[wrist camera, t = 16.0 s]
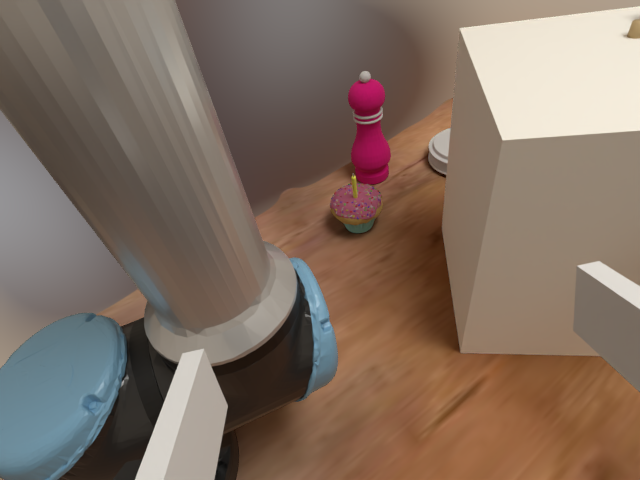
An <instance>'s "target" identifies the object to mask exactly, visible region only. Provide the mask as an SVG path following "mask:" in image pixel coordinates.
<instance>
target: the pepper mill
mask: <svg viewBox="0 0 640 480" xmlns="http://www.w3.org/2000/svg"><path fill="white" fill-rule="evenodd" d="M370 78H371V75H370V73H369V72H367V71H363V72H362V73H361V74H360V80H359V81H357V82H356V83H354V84H353V85H352V87H351V88H350V90H349V95H348V101H349V104H350V106H351V107H352V108H353V109H354V110H353V115H354V116H353V119H354V121H355V122H356V123H357V135H356V139H355V141H354V144H353V147H352V152H351V160H352V163H353V164H354V166H355V173H356V178H357V180H358V181H360V182H361V183H364V184H369V185H371V184H378V183H380V182H382V181H384V180H385V179H386V178H387V177H388V174H389V170H388V162H389V161H390V157H391V154H390V148H389V145H388V143H387V141H386V140H385V138H384V136H383V134H382V131H381V126H380V119H381V118H382V116H383V113H382V110H383V109H382V107H381V106H382V104H383V103H384V100H385V92H384V89H383V86H382V85H381V84H380V83H379V82H378V81H376V80H374V79H370Z"/></svg>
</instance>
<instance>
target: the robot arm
mask: <svg viewBox="0 0 640 480" xmlns="http://www.w3.org/2000/svg"><path fill="white" fill-rule="evenodd" d="M0 110H1V111H2V113H3V114H4V115H5V117H6V118H7V119H8V120H9V122H10V123H11V124H12V126H13V127H14V128H15V129H16V131H17V132H18V133H19V135H20V136H21V137H22V139H23V140H24V141H25V142H26V144H27V145H28V146H29V148H30V149H31V150H32V152H33V153H34V154H35V155H36V157H37V158H38V159H39V161H40V162H41V163H42V165H43V166H44V167H45V168H46V170H47V171H48V172H49V174H50V175H51V176H52V177H53V179H54V180H55V181H56V183H57V184H58V185H59V187H60V188H61V189H62V190H63V192H64V193H65V194H66V196H67V197H68V198H69V200H70V201H71V202H72V203H73V205H74V206H75V207H76V208H77V210H78V211H79V213H80V214H81V215H82V216H83V218H84V219H85V220H86V222H87V223H88V224H89V225H90V227H91V228H92V229H93V231H95V233H96V234H97V236H98V237H99V238H100V240H101V241H102V242H103V244H104V245H105V246H106V247H107V249H108V250H109V251H110V253H111V254H112V255H113V256H114V258H115V259H116V260H117V262H118V263H119V264H120V266H121V267H122V268H123V270H124V271H125V272H126V273H127V275H128V276H129V277H130V279H131V280H132V281H133V282H134V284H135V285H136V286H137V288H138V289H139V290H140V292H141V293H142V294H143V295H144V297H145V298H146V299H147V304H146V308H145V314H144V318H141V319H139V320H136V321H134V322H131V323H129V324H126V325H124V326H121V327H120V326H119V324H118V323H117V322H116V321H115V320H113V319H111V318H108V317H105V316H102V315H100V316H97V315H95V314H94V313H79V314H75V315H71V316H68V317H65V318H63V319H60V320H58V321H55V322H53V323H52V324H50V325H48V326H46V327H45V328H43V329H41V330H40V331H39V332H37V333H36V334H34V335H33V336H32V337H30V338H29V339H28V340H27V341H26V342H25V343H23V344H22V345H21V346H20V347H19V348H18V349H17V350H16V351H15V352H14V353H13V354H12V355H11V356H10V357H9V359H8V360H7V362H6V363H5V364H4V365H3V366H2V368H1V369H0V478H2V479H4V480H236V476H237V471H238V463H239V449H238V442H237V438H236V435H235V432H234V429H236V428H238V427H240V426H243V425H245V424H247V423H249V422H251V421H253V420H255V419H257V418H260V417H262V416H264V415H266V414H268V413H270V412H272V411H275V410H277V409H279V408H281V407H283V406H285V405H287V404H289V403H292V402H298V401H302V400H304V399H306V398H307V396H309V395H310V393H312V392H314V391H316V390H318V389H319V388H321V387H323V386H325V385H327V384H328V383H329V382H330V381H331V380H332V379H333V377H334V376H335V374H336V371H337V366H338V351H337V343H336V338H335V333H334V330H333V327H332V325H331V323H330V322H329V312H328V308H327V305H326V302H325V300H324V297H323V294H322V292H321V290H320V287H319V285H318V283H317V281H316V279H315V277H314V275H313V273H312V272H311V270H310V268H309V267H308V265H307V264H306V263H305V262H304V261H303V260H301V259H299V258H290V259H289V258H288V257H287V256H286V255H285V253H284V252H282V251H281V250H280V249H279V248H277V247H276V246H274V245H273V244H270V243H268V242H265V241H263V240H262V237H261V235H260V232H259V229H258V226H257V224H256V221H255V218H254V216H253V213H252V210H251V207H250V205H249V202H248V199H247V196H246V194H245V191H244V188H243V185H242V183H241V180H240V177H239V174H238V172H237V169H236V166H235V164H234V161H233V158H232V155H231V153H230V150H229V147H228V145H227V142H226V139H225V136H224V134H223V131H222V128H221V125H220V123H219V120H218V117H217V114H216V112H215V109H214V106H213V104H212V101H211V98H210V95H209V93H208V90H207V87H206V84H205V82H204V79H203V76H202V74H201V71H200V68H199V65H198V62H197V60H196V57H195V54H194V52H193V49H192V46H191V44H190V41H189V38H188V35H187V32H186V30H185V27H184V24H183V22H182V19H181V16H180V14H179V11H178V8H177V5H176V2H175V0H0ZM573 331H574V332H575V333H576V334H577V335H578V336H580V337H581V338H582V339H583V340H584V341H585V342H586V343H587V344H588V345H589V346H590V347H591V348H593V349H594V350H595V351H596V352H597V353H598V354H599V355H600V356H601V357H602V358H603V359H604V360H605V361H607V362H608V363H609V364H610V365H611V366H612V367H613V368H614V369H615V370H616V371H617V372H618V373H620V374H621V375H622V376H623V377H624V378H625V379H626V380H627V381H628V382H629V383H630V384H631V385H633V386H634V387H635V388H636V389H637V390H638V391H639V392H640V286H638V285H637V284H635V283H634V282H632V281H630V280H629V279H627V278H626V277H624V276H622V275H621V274H619V273H618V272H616V271H614V270H613V269H611V268H610V267H608V266H606V265H605V264H603V263H602V262H600V261H596V262H592V263H587V264H583V265H578V266H577V270H576V287H575V305H574V323H573Z"/></svg>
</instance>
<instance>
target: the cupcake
mask: <svg viewBox="0 0 640 480" xmlns="http://www.w3.org/2000/svg"><path fill="white" fill-rule="evenodd" d="M351 179H352V184H348V185H346V186H343V187H342V188H340V189H338V190H337V191H336V192H335V193H334V195H333V197H332V198H331V203H330V208H331V212H332V214H333V215H334V216H335V217H336V218H337V219H338V220H339V221H341V222H342V223H344V225H345V227H346V228H347V230H349V231H350V232H353V233H363V232H366V231H368V230H369V229H371V227H372V226H373V223H374V220H375V218H376V217H377V216H379V214H380V212H381V210H382V208H383V202H382V199H381V198H382V196H381V194H380V192H379V191H378V190H376V189H375V188H374V187H372V186H371V185H368V184H362V183H356V176H354V173H353V176H352V177H351Z"/></svg>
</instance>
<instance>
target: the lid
mask: <svg viewBox="0 0 640 480" xmlns="http://www.w3.org/2000/svg"><path fill="white" fill-rule="evenodd" d="M450 130H451V128H449V129H446V130H444V131H442V132H440V133H438V134H437V135H435V136H434V137H433V138H432V139H431V141H430V143H429V155H428V160H429V163H430V165H431V166H432V167H433V168H434V169H435V170H436V171H438V172H440V173H442V174H445V175H446V174H447V163H448V152H449V141H450Z"/></svg>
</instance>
